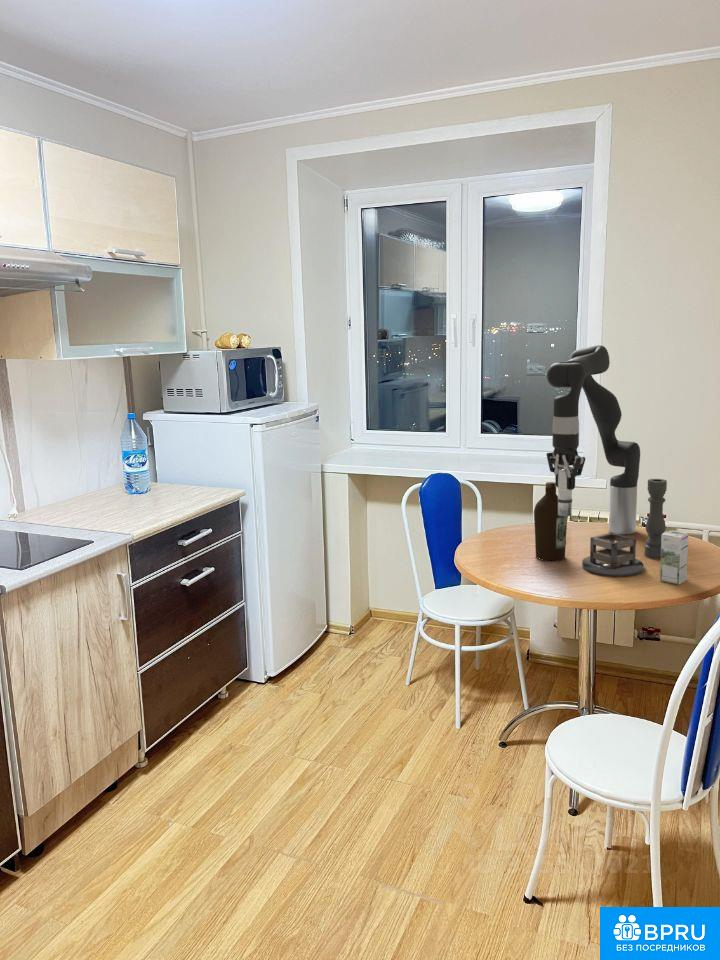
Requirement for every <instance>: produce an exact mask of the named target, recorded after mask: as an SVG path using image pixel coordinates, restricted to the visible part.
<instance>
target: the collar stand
mask: <svg viewBox="0 0 720 960" xmlns="http://www.w3.org/2000/svg"><path fill="white" fill-rule="evenodd" d="M589 541H590V547H589V555H590V556H586V557H584V558H583V559H582V562H581V567H582V569H583V570H584V571H586V572H588V573H590V574H593V575H598V576H603V577H611V578H612V577H613V578H627V577H633V576H638V575H640V574H641V573H643V572H644V562H642V561H641V560H639V559H637V558H636V555H637V554H636V553H637V552H636V549H637V539H636V538H634V537H630V536H626V535H624V534H616V533H612V532H608V533H604V534H599V535H596V536H595V535H594V536H591V537H590V540H589ZM597 547H600V548H598V549H597ZM626 548H629V550H626Z"/></svg>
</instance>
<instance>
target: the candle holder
mask: <svg viewBox="0 0 720 960" xmlns="http://www.w3.org/2000/svg"><path fill="white" fill-rule="evenodd" d="M667 486H668V481H667V480H666V479H664V478H649V479H647V491H648V492H647V493H648V494H649V496H650V497H648V498H647V501H648V502H649V513H648V517H647V520H646V522H645V523H646V524H645V531H646V533H647V536H648V537H647V538H646V540H645V544H644V557H646V558H647V559H648V558H649V559H654V560H656V559H657V560H658V559H660V560H661V536H662V534H663V533H664V532H666V531H667V530H666V528H667V526H666V522H665V518H664V513H663V512H664V511H663V510H664V509H663V506H664V503H665V502H666V498H665V497H664V496H665V494H666V492H667Z"/></svg>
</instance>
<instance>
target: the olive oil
mask: <svg viewBox="0 0 720 960" xmlns="http://www.w3.org/2000/svg"><path fill="white" fill-rule="evenodd" d="M544 489H545V494H544V495H543V496H542V497H541V498H540V500H539V501H537V503H536V504H535V506H534V510H533V518H534V519H533V521H534V522H533V523H534V539H535V540H534V543H535V544H534V545H535V558H537V557H538V558H540V559H543V560H542V561H545V560H552V561H551V562H557V561H556V560H559V561H562V560H565V557H566V545H567V529H568V516H559V515H558V502H557V499H558V494H557V487H556V484H555V482H554V481H549V482H548V481H547V482H546V483H545V488H544ZM538 558H537V559H538ZM540 559H539V560H540Z"/></svg>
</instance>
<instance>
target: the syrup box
mask: <svg viewBox="0 0 720 960" xmlns="http://www.w3.org/2000/svg"><path fill="white" fill-rule="evenodd" d="M688 548H689V532H683V531H677V530H672V529H671V530H665V532H664V533H663V534H662V536H661V559H660V566H659V567H660V569H659V570H660V572H659V573H660V574H659V581H660V582H664V583H669V584H673V585H678V586H679V585H681V584H683V583H685V582H686V581H687V579H688V577H687V576H688V574H687V573H688V569H687V568H688V552H689V551H688V550H689V549H688ZM685 580H686V581H685ZM682 582H683V583H682Z"/></svg>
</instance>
